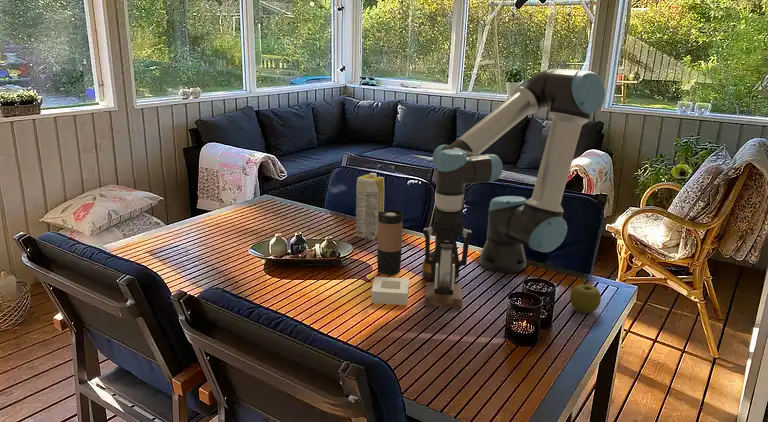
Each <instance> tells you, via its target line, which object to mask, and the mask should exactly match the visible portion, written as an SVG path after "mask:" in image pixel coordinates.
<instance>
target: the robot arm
mask: <svg viewBox="0 0 768 422" xmlns="http://www.w3.org/2000/svg"><path fill="white" fill-rule="evenodd" d="M605 88H606V87H605V84H604V83H603V79H602V78H601V76H600V75H599V74H597V72H594V71H590V70H589V71H588V70H583V69H568V68H566V69H565V68H549V69H545V70H542V71H540V72H538V73H536V74H534V75H532V76H531V77H529V78H528V79H526V80H525V81H523V82H522V83H520V84H519V85H518V86H517V87H516V88H515V89H513V91H512V92H513V94H511V95H510V97H509V98H507V99H506V100H505V101H503V102H502V103H501V104H500V105H498V106H497V107H496V108H495V109H493V110H492V111H491V112H490V113H489V114H487V115H486V116H484V118H483V119H481V120H480V121H478V122H477V123H476V124H474V125H473V126H472V127H471V128H470V129H469V130H467V131H466V132H465V133H464V134H462V135H461V136H460V137H459V138H458V139H456V140H455V141H454V142H452V143H450V144H441V145H439V146H437V147H436V148H435V149H434V151H433V154H432V162H433V165H434V166H435V167H436V179H435V180H436V182H435V183H436V184H435V185H436V186H435V200H434V202H435V204H434V206H435V208H434V219H433V223H432V226H430V227H426V226H425V227H423V230H422V234H423V237H424V238H425V239H424V242H425V243H424V244H425V247H424V251H425V252H424V253H425V254H424V259H425V263H426V264H430V265H431V276H435V283H434V288H435V289H437V281H438V263H437V259H438V255H439V252H440V248H441V247H439V244H441V243H442V242H443V241H452V244H453V245H454V248H453V256H454V261H455V264H453V266H452V281H451V289H452V290H454V284H455V282H454V280H455V278H457V279H458V278H459V276H460V268H461V267H466V266H467V262H468V255H469V254H468V253H469V245H470V239H471V238H472V236H473V232H472V230H471V229H466V228H464V225H463V214H464V211H463V207H464V200H465V199H464V198H465V189H466V188H465V187H466V186H467V185H472V184H473V185H475V184H481V183H483V184H484V183H490V182H494V181H497V180H498V179H499V178H501V176H502V174H503V168H504V166H503V161H502V160H501V158H500V157H499V156H498V155H497V154H494V153H491V154H490V153H486V154H481V153H483V152H484V151H485V150H487V149H488V148H489V147H490V146H491V145H492V144H494V143H495V142H496V141H497V140H498V139H500V138H501V137H502V136H503V135H505V134H507V132H508V131H509V130H510V129H512V128H513V127H514V126H516V125H517V124H518V123H520V122H521V121H522V120H523V119H524V118H526V117H527V116H528V115H534V114H536V113H537V112H538V111H539V110H541V109H544V108H549V109H548V110H549V111H548V114H549V115H550V117H551V123H550V127H549V131H548V135H547V138H546V142H545V147H544V149H543V150H544V151H543V154H542V158H541V161H540V166H539V168H538V173H537V177H536V181H535V183H534V186H533V191H532V195H531V197H530V198H528V199H527V198H525V197H524V196H515V195H504V196H497V197H494V198H491V200H490V203H489V208H488V217H487V230H486V231H487V233H486V241H485V244H484V246H483V248H482V250H481V252H480V255H479V264H480V266H482V267H483V268H484V269H487V270H489V271H493V272H496V271H497V273H504V274H505V273H506V274H508V273H509V274H511V273H510V272H514V273H518V271H519V272H521V270H522V271H523V269H524V268H525V269H526V266H527V257H526V253H525V249H524V246H526V247H529V248H530V249H532V250H534V251H538V252H541V253H549V252H552V251H554V250H556V249H557V248H558V247H559V246H561V244H562V243H563V241H564V240H565V238H566V236H567V232H568V225H567V221H566V220H565V219H564V218H563V215H564V211H565V210H564V209H563V207H562V205H561V204H562V200H563V197H564V196H563V195H564V191H565V188H566V185H567V182H568V177H569V174H570V170H571V167H572V163H573V159H574V156H575V153H576V148H577V146H578V145H577V144H578V141H579V138H580V134H581V131H582V128H583V125H585V124H586V123H588V122H589V121H590V118H591V116H592V115H593V114H596V113H598V111H599V109H601V108H602V107H603V104H604V102H605V96H606V95H605V94H606V89H605ZM433 233H434V234H435V235H436V236H437V237H438V239H437V243H436V247H435V246H434V250H433V251H434V254H433V258H432V259H431V258H430V253H431V252H430V251H431V248H430V247H431V241H430V240H431V237H430V236H432V234H433ZM461 234H462V237H463V238H464V239H463V245H462V254H461V259H459V257H460V256H459V251H458V245H457V244H458V243H457V239H458V238H459V236H461ZM525 269H524V270H525Z"/></svg>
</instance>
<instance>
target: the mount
mask: <svg viewBox="0 0 768 422" xmlns="http://www.w3.org/2000/svg"><path fill="white" fill-rule="evenodd" d="M425 282H426V281H425ZM424 302H425V303H424V305H425V306H427V307H439V308H441V307H442V308H443V307H444V308H458V309H462V308H463V293H462V284H461V283H454V290H452V289H451V295H445V294H437V289H435V288H434V283H432V282H426V283H425V301H424Z"/></svg>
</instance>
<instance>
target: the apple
mask: <svg viewBox="0 0 768 422" xmlns="http://www.w3.org/2000/svg"><path fill="white" fill-rule="evenodd" d="M601 295H602V294H601V293H600V290H599V289H598V288H597V287H595V286H593V285H590V284H578V285H576V286H575V287H573V288H572V290H571V292H570V295H569V296H570V297H569V299H570V304H571V306H572V308H573V310H575V311H577V312H579V313H581V314H591V313H593V312H595V311H596V310H597V309H598V307H600V304H601V301H602V296H601Z"/></svg>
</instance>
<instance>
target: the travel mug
mask: <svg viewBox="0 0 768 422" xmlns="http://www.w3.org/2000/svg"><path fill="white" fill-rule="evenodd" d="M403 215H404V214H403V212H402V211H401V210H399V209H398V210H397V209H387V210H386V211H385V210H384V212H382V211H379V214H378V238H377V244H376V245H377V247H376V249H377V250H376V251H377V254H376V256H377V257H376V258H377V263H376V264H377V267H376V268H377V274H380V275H381V274H382V275H386V276H391V275H392V276H394V275H398V274H400V272H401V267H402V265H401V263H402V247H403V219H404V218H403Z"/></svg>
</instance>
